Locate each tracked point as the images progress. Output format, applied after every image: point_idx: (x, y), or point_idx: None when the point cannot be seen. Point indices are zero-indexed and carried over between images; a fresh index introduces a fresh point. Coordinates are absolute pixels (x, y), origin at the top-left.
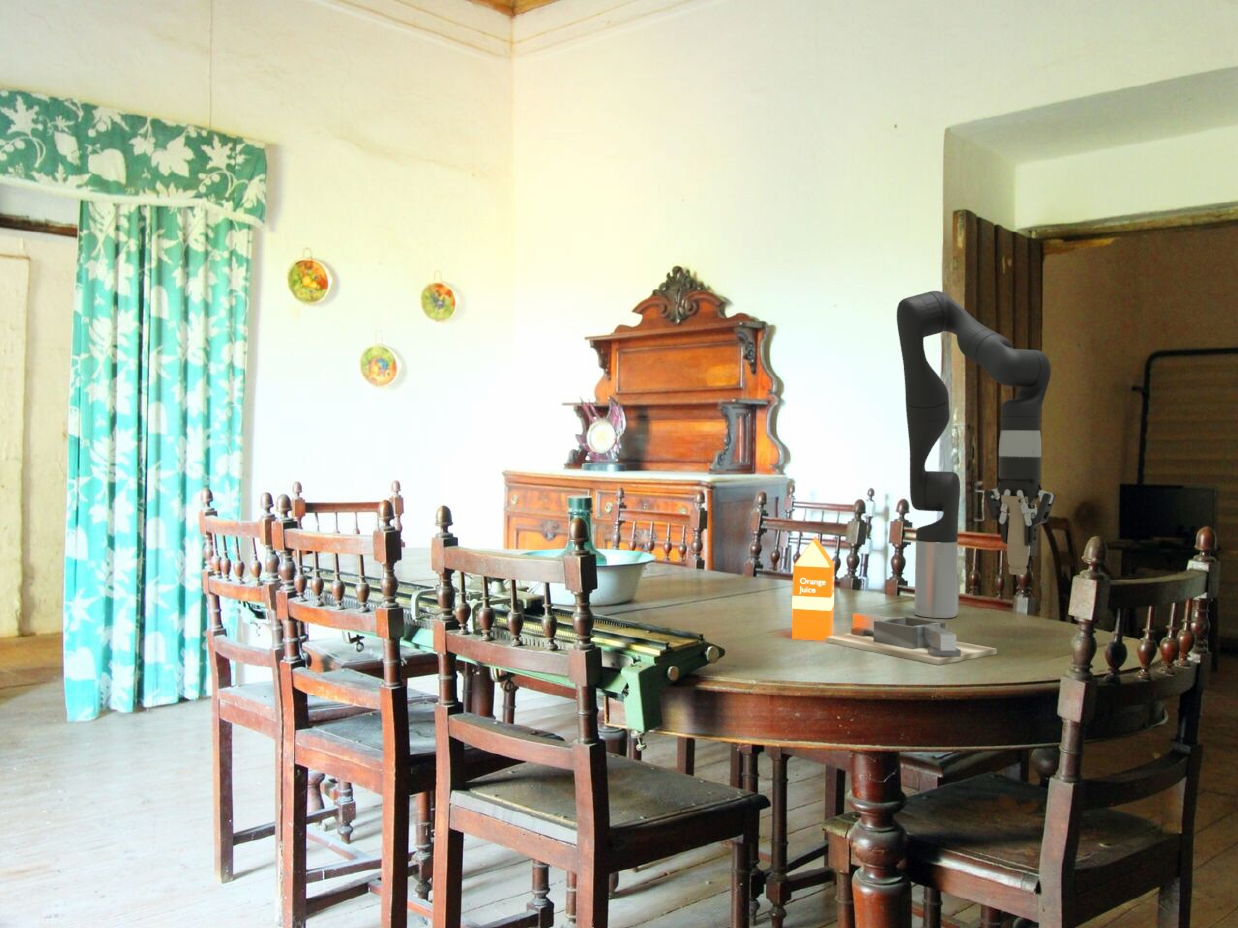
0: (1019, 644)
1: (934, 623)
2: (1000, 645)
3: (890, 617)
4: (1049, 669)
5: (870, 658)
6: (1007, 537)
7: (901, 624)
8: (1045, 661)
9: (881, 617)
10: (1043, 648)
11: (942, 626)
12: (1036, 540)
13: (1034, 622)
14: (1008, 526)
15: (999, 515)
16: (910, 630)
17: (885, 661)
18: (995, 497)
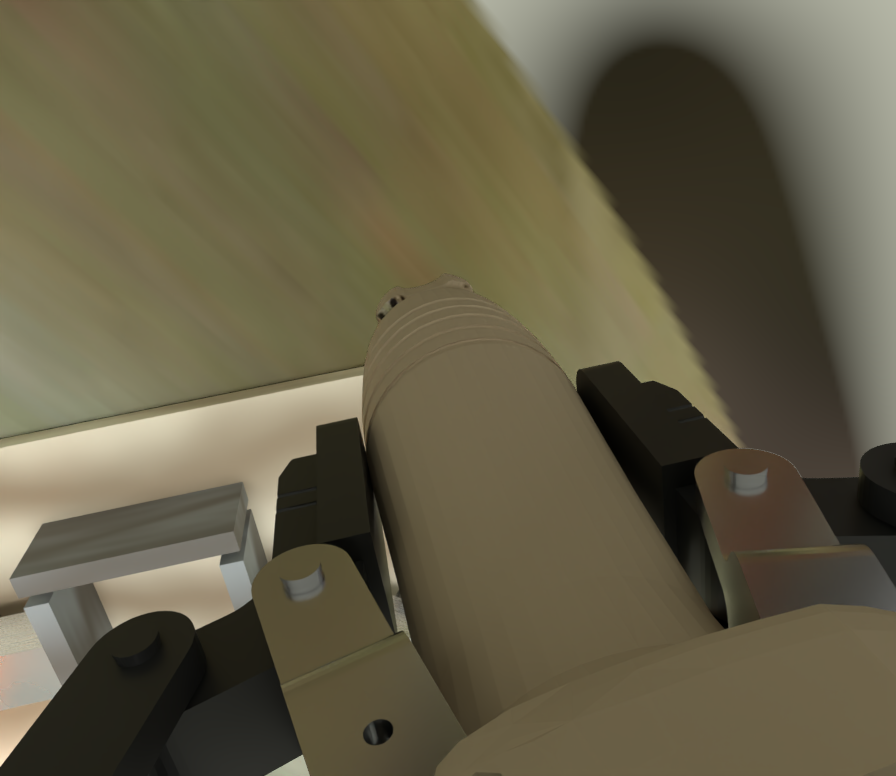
0: (273, 68)
1: (233, 582)
2: (261, 186)
3: (25, 655)
4: (683, 388)
5: (295, 766)
6: (380, 528)
7: (69, 607)
8: (593, 289)
9: (16, 688)
10: (399, 42)
11: (240, 538)
12: (672, 389)
13: None
14: (389, 599)
15: (263, 771)
16: None
17: None
18: None
